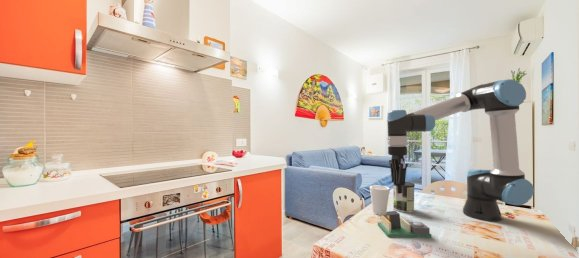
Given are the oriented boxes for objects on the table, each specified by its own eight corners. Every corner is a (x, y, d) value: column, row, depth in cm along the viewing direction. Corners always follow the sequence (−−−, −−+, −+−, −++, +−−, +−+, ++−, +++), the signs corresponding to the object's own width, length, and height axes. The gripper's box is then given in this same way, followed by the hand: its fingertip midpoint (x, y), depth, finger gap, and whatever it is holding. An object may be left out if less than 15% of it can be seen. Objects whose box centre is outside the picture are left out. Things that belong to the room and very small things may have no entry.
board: (416, 225, 109) (416, 215, 109) (431, 237, 97) (431, 225, 97) (377, 225, 109) (377, 214, 109) (387, 236, 97) (388, 224, 97)
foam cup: (389, 211, 128) (390, 186, 128) (388, 217, 119) (389, 190, 120) (370, 208, 132) (370, 184, 132) (368, 214, 123) (368, 188, 124)
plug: (396, 224, 106) (395, 210, 106) (400, 228, 102) (399, 214, 102) (387, 225, 106) (386, 211, 106) (391, 229, 102) (389, 214, 102)
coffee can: (396, 212, 127) (396, 184, 127) (391, 206, 137) (391, 180, 137) (417, 213, 126) (417, 185, 126) (410, 207, 136) (410, 181, 136)
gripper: (383, 145, 113) (384, 196, 113) (395, 147, 100) (396, 205, 100) (399, 144, 113) (400, 196, 113) (413, 146, 100) (414, 204, 100)
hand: (398, 200), depth 106 cm, fingers closed
